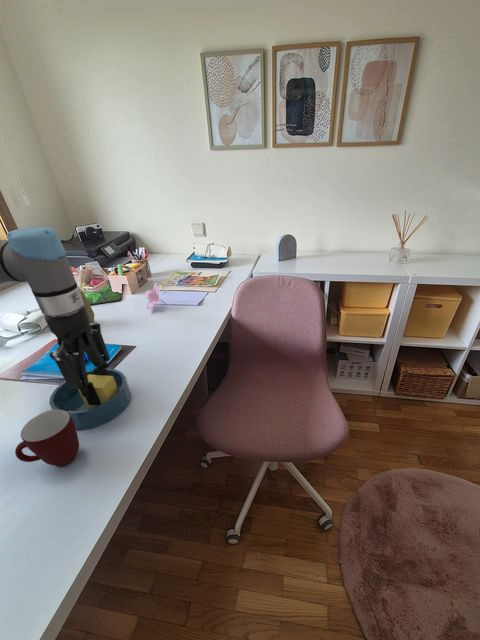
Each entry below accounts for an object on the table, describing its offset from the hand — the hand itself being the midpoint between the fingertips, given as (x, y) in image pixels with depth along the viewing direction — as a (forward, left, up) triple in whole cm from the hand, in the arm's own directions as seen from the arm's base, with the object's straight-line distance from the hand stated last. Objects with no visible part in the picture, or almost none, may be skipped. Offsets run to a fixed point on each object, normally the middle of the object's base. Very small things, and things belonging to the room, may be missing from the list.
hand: (101, 396), depth 73 cm
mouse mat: (-45, +68, -3) cm, 81 cm away
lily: (-11, +56, -3) cm, 57 cm away
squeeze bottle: (-31, +39, -3) cm, 50 cm away
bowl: (-2, 0, -3) cm, 4 cm away
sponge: (0, 0, -2) cm, 2 cm away
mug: (0, -17, -3) cm, 17 cm away
